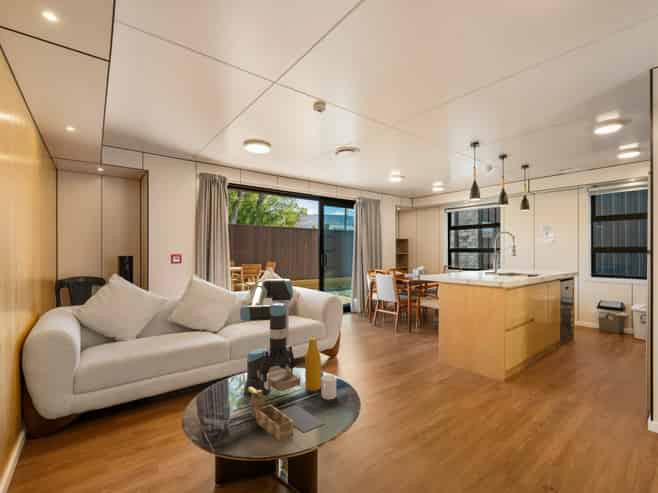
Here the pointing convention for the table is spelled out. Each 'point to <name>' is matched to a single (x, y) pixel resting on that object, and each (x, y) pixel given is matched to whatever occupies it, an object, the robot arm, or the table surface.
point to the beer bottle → (312, 366)
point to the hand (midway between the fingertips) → (278, 385)
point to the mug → (328, 387)
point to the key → (255, 391)
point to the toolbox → (271, 418)
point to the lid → (280, 378)
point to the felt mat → (302, 418)
